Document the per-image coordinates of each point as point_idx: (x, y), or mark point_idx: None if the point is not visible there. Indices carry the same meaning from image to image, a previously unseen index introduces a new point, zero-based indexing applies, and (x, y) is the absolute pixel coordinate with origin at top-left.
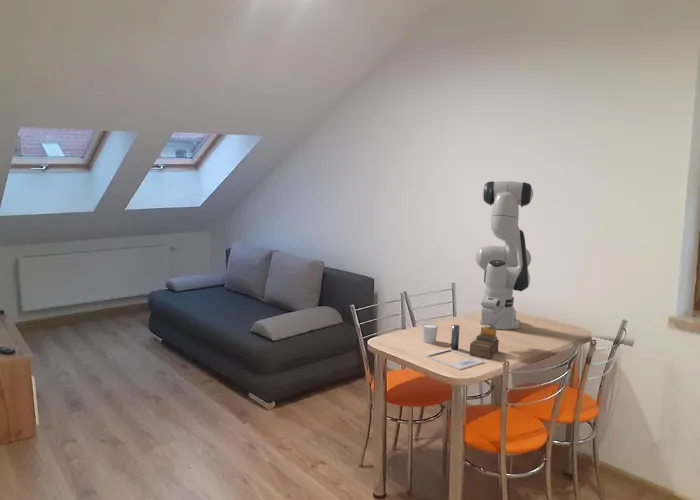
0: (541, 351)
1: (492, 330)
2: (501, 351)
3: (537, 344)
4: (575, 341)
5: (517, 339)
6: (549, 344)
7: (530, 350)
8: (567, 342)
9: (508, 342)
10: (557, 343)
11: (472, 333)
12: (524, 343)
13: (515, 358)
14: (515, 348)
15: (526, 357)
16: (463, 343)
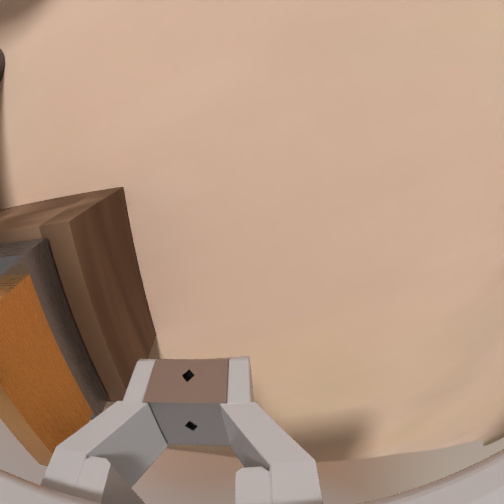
0: (335, 457)
1: (25, 438)
2: (175, 350)
3: (440, 410)
4: (498, 438)
5: (495, 317)
6: (452, 428)
7: (322, 435)
8: (486, 436)
9: (424, 308)
10: (471, 432)
11: (478, 4)
12: (438, 374)
13: None
14: (311, 386)
15: (189, 449)
16: (142, 17)
